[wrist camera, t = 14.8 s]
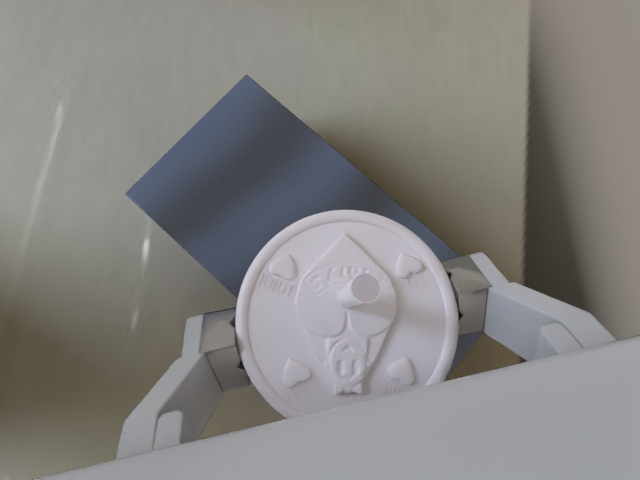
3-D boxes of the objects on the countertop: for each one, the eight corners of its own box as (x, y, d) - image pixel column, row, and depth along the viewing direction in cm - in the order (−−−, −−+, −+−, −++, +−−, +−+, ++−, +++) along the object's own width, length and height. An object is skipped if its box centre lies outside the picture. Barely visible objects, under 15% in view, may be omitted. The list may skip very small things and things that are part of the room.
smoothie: (392, 253, 22) (527, 148, 8) (399, 382, 21) (566, 513, 7) (269, 255, 22) (192, 150, 8) (268, 385, 21) (177, 523, 7)
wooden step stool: (168, 221, 34) (124, 193, 26) (261, 127, 36) (246, 73, 28) (374, 412, 32) (394, 444, 24) (465, 302, 33) (511, 298, 26)
